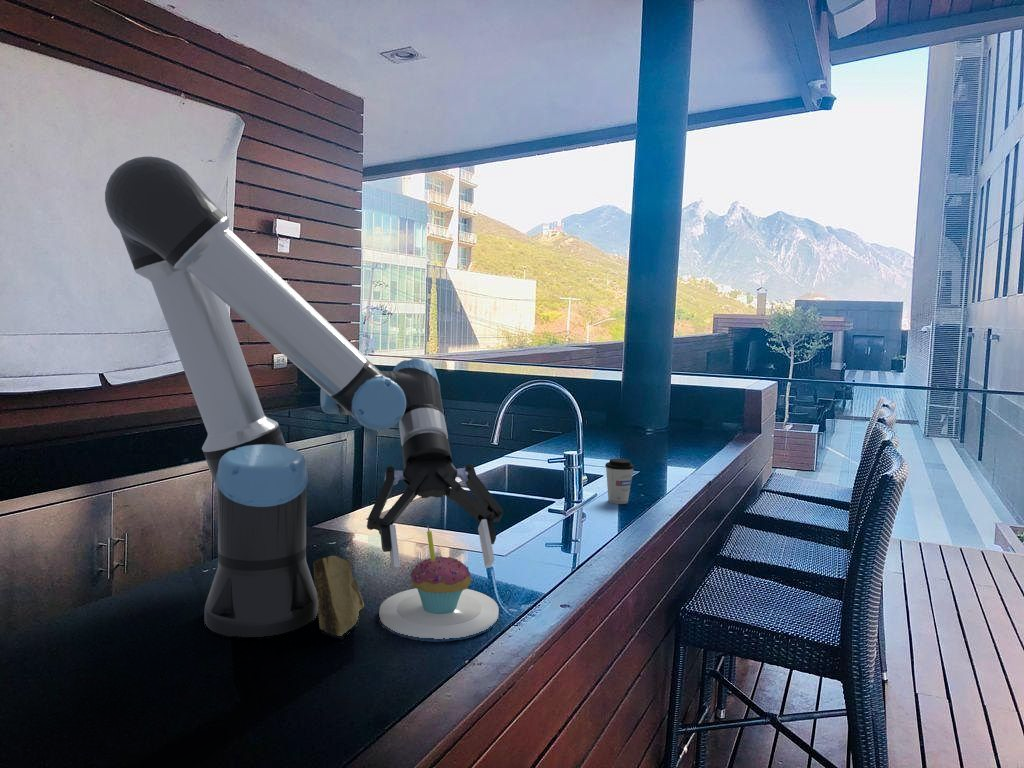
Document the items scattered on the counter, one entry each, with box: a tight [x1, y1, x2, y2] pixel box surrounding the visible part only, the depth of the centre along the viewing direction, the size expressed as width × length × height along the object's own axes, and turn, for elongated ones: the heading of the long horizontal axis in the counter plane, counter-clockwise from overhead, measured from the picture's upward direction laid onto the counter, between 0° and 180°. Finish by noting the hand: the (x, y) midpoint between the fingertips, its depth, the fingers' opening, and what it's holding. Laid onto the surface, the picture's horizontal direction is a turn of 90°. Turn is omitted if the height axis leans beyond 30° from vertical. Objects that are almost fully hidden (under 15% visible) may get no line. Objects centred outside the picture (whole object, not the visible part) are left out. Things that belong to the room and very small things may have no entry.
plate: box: [378, 588, 500, 639], centre depth 105 cm, size 17×17×1 cm
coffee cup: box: [604, 458, 635, 505], centre depth 175 cm, size 7×7×10 cm
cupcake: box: [410, 525, 472, 614], centre depth 105 cm, size 9×8×12 cm
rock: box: [312, 555, 365, 636], centre depth 102 cm, size 11×9×10 cm
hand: (444, 567), depth 104 cm, fingers open, 13 cm apart
